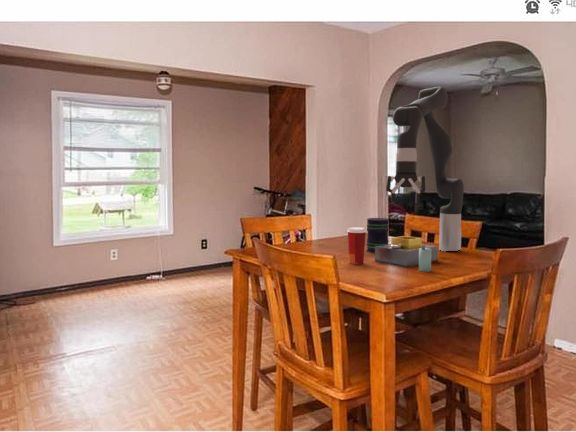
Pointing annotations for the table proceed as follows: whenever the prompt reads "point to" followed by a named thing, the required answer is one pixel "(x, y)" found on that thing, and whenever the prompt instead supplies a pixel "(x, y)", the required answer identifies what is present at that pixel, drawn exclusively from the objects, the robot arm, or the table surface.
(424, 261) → the spout can
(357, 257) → the paper cup
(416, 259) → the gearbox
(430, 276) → the table surface
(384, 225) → the storage jar
